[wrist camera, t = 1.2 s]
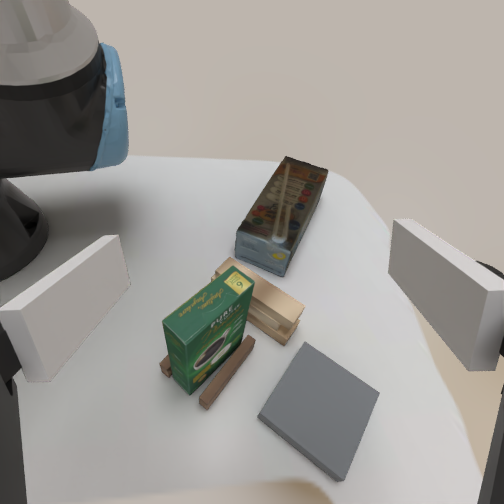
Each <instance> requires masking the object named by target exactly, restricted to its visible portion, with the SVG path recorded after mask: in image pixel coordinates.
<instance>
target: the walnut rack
mask: <svg viewBox="0 0 504 504" xmlns="http://www.w3.org/2000/svg"><path fill="white" fill-rule="evenodd" d="M254 344H255V339H254V338H252V337H251V336H249V335H247V337H246V338H245V339H244V341H243V342H242V343H241V344H240V346H239V347H238V348H237V350H236V351H235V352H234V353H233V355H232V356H231V357H230V359H229V360H228V361H227V362H226V364H225V365H224V366H223V367H222V369H221V370H220V371H219V373H218V374H217V375H216V376H215V378H214V379H213V380H212V382H211V383H210V384H209V385H208V387H207V388H206V389H205V391H204V392H203V393H202V394H201V396H200V397H199V402H200V405H202V406H203V407H204V408H205V409H206V410H208V409H209V407H210V406H211V405H212V403H213V402H214V401H215V399H216V398H217V396H218V395H219V394H220V392H221V391H222V390H223V388H224V387H225V386H226V384H227V383H228V382H229V380H230V379H231V378H232V376H233V375H234V374H235V372H236V371H237V370H238V368H239V367H240V366H241V364H242V363H243V362H244V360H245V359H246V357H247V356H248V355H249V353H250V352H251V351H252V349H253V347H254ZM160 367H161V370H162V372H163V373H164V374H165V375H166V376H168V377H170V376H171V375H172V369H171V365H170V360H169V355H167V356H166V357H165V358H164V359H163V360H162V362H161V363H160Z"/></svg>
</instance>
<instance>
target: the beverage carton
mask: <svg viewBox="0 0 504 504" xmlns="http://www.w3.org/2000/svg"><path fill="white" fill-rule="evenodd" d="M327 174H328V170H327V169H324V168H320V167H317V166H314V165H311V164H309V163H306V162H302V161H298V160H296V159H293V158H290V157H287V156H285V158H284V160H283V161H282V162H281V163H280V165H279V167H278V168H277V169H276V171H275V172H274V174H273V175H272V177H271V179H270V180H269V182H268V183H267V185H266V186H265V188H264V189H263V191H262V192H261V194H260V195H259V197H258V199H257V200H256V202H255V203H254V205H253V206H252V208H251V209H250V211H249V213H248V214H247V216H246V218H245V220H243V221H242V224H241V225H240V226H239V228H238V230H237V233H236V242H235V257H236V258H238V259H240V260H243V261H245V262H248V263H250V264H253V265H255V266H257V267H260V268H262V269H264V270H267V271H269V272H272V273H274V274H276V275H279V276H281V277H283V276H284V275H285V272H286V270H287V268H288V266H289V263H290V261H291V259H292V257H293V255H294V253H295V251H296V248H297V246H298V244H299V242H300V240H301V238H302V236H303V234H304V232H305V230H306V228H307V226H308V224H309V222H310V220H311V217H312V215H313V213H314V211H315V209H316V206H317V204H318V202H319V199H320V196H321V193H322V190H323V187H324V184H325V181H326V178H327Z"/></svg>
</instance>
